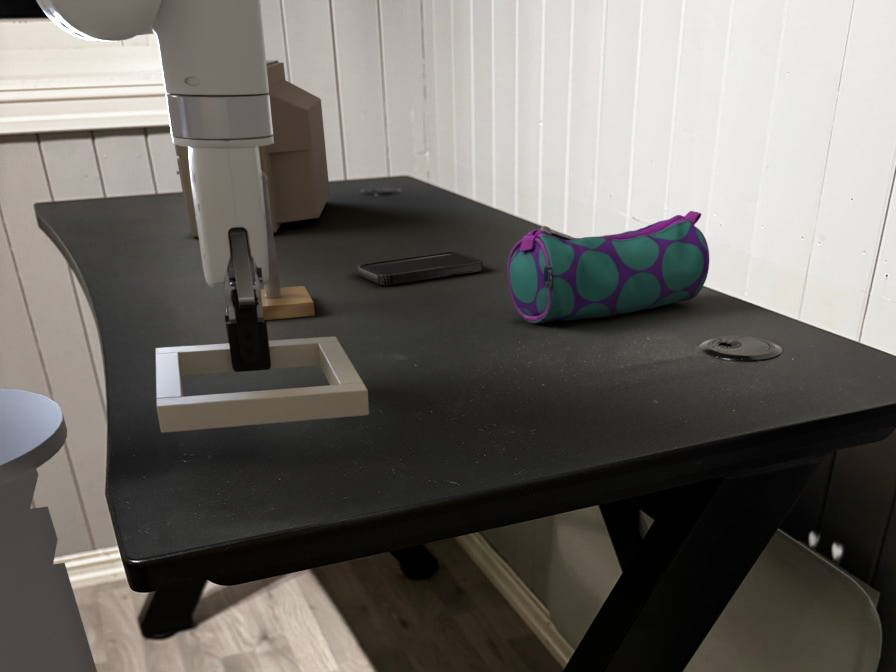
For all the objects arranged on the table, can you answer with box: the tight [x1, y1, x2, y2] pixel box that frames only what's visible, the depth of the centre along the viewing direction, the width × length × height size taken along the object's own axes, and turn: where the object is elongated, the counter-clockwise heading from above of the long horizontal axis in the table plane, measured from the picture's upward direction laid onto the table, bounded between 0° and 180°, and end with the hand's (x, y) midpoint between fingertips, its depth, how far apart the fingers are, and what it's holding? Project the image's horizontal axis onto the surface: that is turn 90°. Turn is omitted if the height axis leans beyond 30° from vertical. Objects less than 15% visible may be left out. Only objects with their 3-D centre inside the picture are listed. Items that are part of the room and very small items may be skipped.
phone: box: [357, 251, 484, 286], centre depth 120 cm, size 8×1×15 cm
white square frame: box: [155, 336, 370, 434], centre depth 75 cm, size 15×15×2 cm
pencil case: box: [506, 210, 710, 324], centre depth 101 cm, size 21×9×10 cm, turn 115°
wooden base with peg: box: [261, 170, 316, 321], centre depth 103 cm, size 8×8×14 cm
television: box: [164, 59, 331, 238], centre depth 147 cm, size 36×20×40 cm, turn 3°
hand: (250, 363), depth 80 cm, fingers closed on white square frame, 1 cm apart
